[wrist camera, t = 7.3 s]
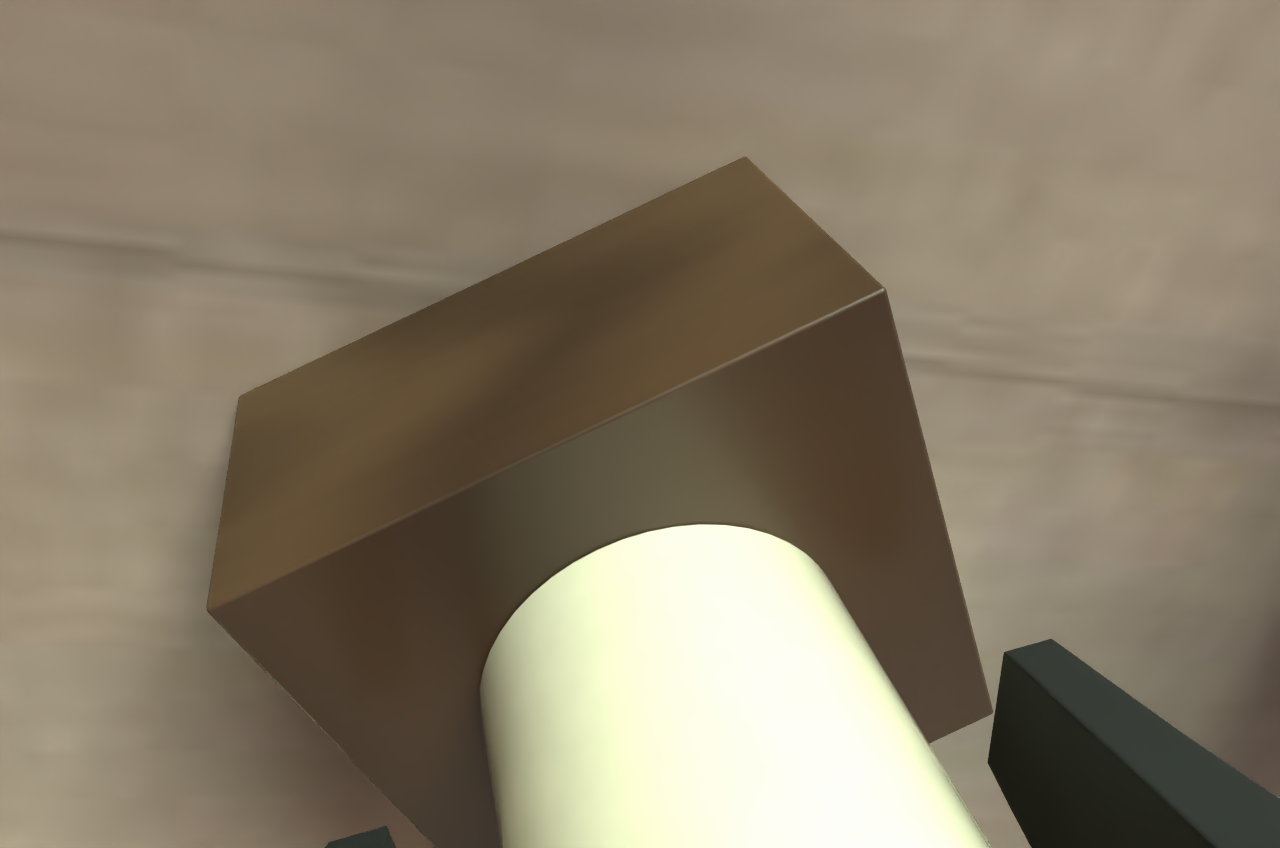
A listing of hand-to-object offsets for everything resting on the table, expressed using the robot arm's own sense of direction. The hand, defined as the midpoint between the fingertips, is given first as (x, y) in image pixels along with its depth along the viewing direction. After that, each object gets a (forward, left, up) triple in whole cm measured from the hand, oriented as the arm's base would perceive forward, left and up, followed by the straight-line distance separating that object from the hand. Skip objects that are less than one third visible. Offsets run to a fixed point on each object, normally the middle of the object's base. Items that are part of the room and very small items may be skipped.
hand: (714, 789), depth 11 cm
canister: (0, 0, -2) cm, 2 cm away
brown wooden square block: (0, 0, -6) cm, 6 cm away
